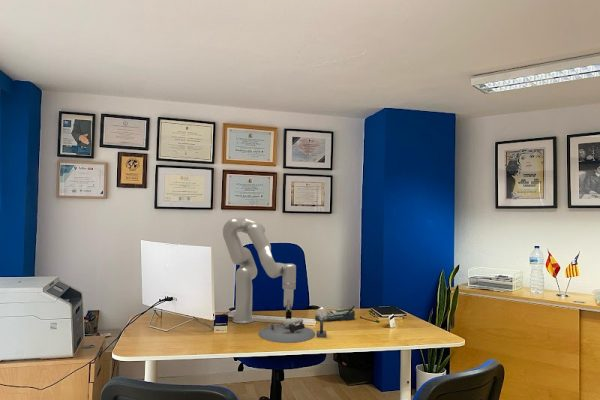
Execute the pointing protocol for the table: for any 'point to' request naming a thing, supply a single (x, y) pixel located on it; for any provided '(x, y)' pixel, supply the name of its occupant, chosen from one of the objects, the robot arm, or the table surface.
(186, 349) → the table surface
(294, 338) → the mat
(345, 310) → the communication device
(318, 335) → the square-base wall hook
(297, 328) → the clip-on lamp
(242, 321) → the robot arm
